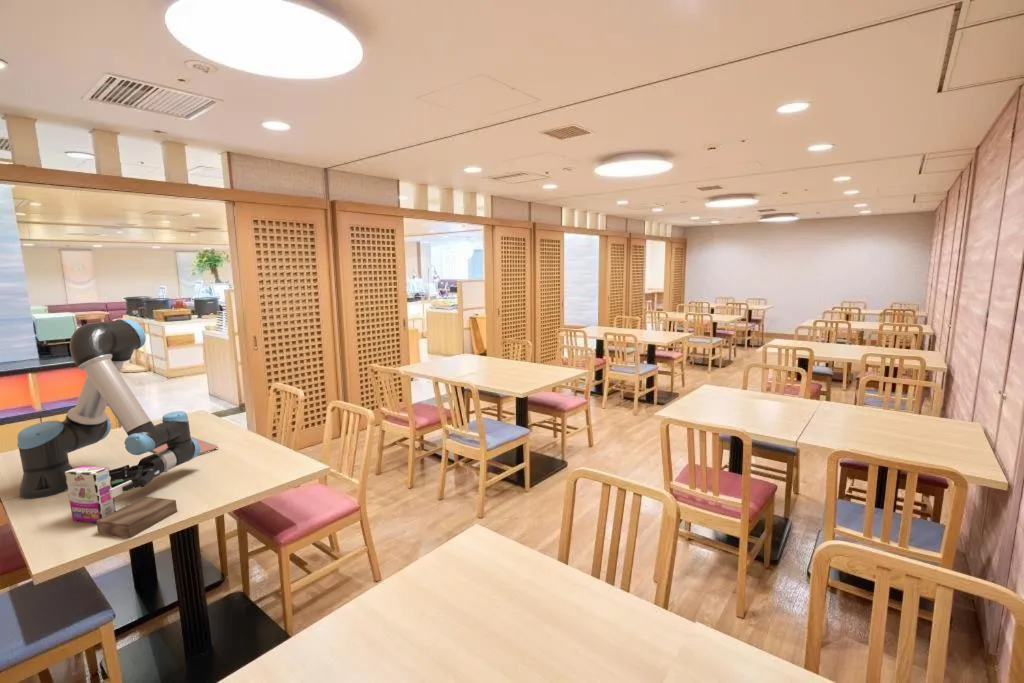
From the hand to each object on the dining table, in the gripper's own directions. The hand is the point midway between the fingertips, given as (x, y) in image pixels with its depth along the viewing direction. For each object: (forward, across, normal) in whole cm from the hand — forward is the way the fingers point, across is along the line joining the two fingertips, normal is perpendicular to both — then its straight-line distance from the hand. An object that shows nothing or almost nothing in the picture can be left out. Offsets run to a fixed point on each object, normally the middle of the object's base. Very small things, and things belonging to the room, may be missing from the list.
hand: (92, 492), depth 146 cm
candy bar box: (0, +1, -9) cm, 9 cm away
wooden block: (-1, -15, -9) cm, 18 cm away
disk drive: (-21, +18, -10) cm, 30 cm away
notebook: (-53, +23, -10) cm, 59 cm away
